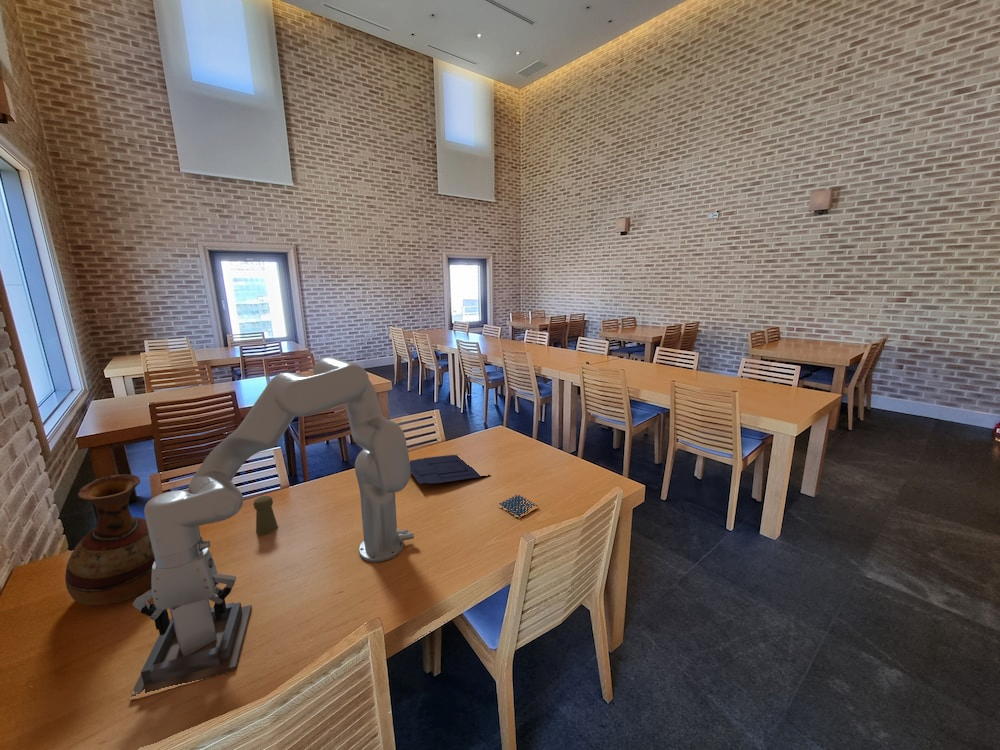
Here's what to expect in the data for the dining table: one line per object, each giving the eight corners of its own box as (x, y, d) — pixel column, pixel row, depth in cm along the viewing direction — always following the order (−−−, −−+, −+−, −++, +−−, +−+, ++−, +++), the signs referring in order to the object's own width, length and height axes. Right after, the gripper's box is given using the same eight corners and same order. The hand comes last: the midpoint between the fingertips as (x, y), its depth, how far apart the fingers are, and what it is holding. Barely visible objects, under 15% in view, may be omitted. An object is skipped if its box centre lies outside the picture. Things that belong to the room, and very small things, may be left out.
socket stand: (251, 608, 96) (249, 594, 95) (235, 670, 81) (233, 654, 80) (165, 629, 90) (161, 615, 89) (130, 701, 75) (125, 684, 74)
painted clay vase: (86, 629, 90) (53, 511, 83) (61, 593, 100) (30, 485, 94) (188, 577, 106) (167, 474, 99) (157, 550, 117) (137, 455, 110)
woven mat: (518, 521, 133) (518, 516, 132) (497, 508, 140) (497, 503, 140) (539, 510, 140) (539, 504, 139) (518, 498, 147) (518, 493, 147)
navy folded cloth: (400, 466, 168) (401, 458, 167) (464, 459, 183) (465, 452, 183) (420, 492, 147) (421, 483, 147) (490, 482, 163) (491, 473, 162)
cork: (268, 536, 123) (263, 504, 121) (251, 533, 125) (246, 502, 122) (282, 524, 129) (278, 494, 127) (266, 522, 130) (261, 492, 128)
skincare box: (211, 629, 89) (202, 583, 86) (218, 640, 86) (209, 593, 84) (177, 648, 85) (166, 600, 82) (183, 660, 82) (172, 611, 79)
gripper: (233, 531, 87) (244, 598, 91) (133, 550, 80) (149, 621, 84) (225, 553, 80) (237, 623, 84) (114, 575, 74) (133, 651, 77)
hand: (193, 622), depth 84 cm, fingers open, 9 cm apart
